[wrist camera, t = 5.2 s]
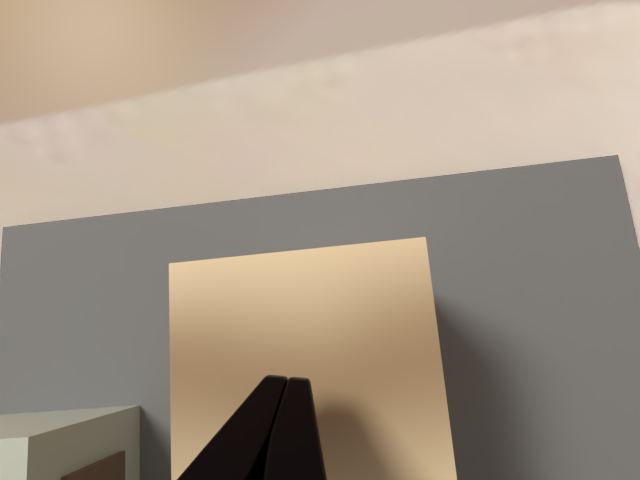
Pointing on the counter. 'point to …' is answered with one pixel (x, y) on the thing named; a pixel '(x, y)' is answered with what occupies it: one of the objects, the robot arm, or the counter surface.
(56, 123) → the counter surface
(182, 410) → the plain maple block
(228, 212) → the slate rubber mat
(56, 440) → the brown paneled pale cube
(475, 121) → the counter surface
